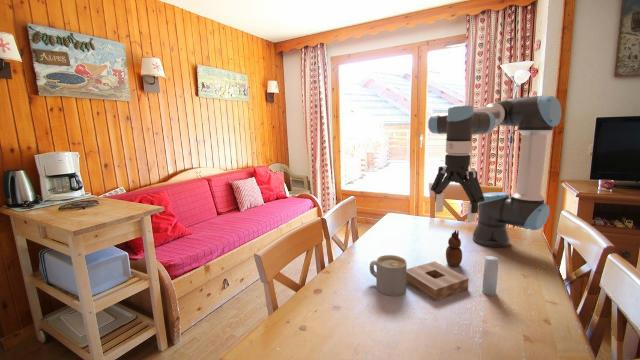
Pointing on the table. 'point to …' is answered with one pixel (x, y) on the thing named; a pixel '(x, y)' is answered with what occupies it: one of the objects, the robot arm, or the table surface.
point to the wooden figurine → (454, 250)
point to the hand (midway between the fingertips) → (454, 216)
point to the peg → (490, 275)
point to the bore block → (436, 280)
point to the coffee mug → (390, 274)
